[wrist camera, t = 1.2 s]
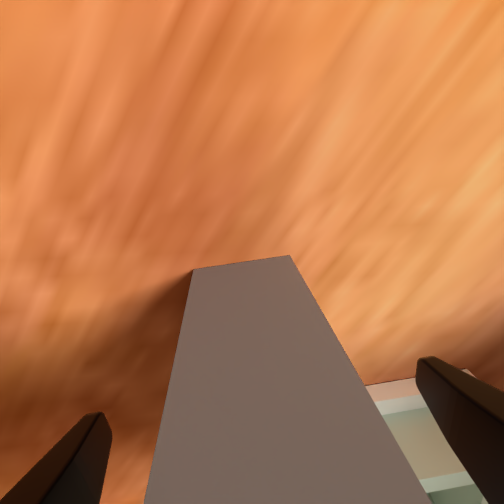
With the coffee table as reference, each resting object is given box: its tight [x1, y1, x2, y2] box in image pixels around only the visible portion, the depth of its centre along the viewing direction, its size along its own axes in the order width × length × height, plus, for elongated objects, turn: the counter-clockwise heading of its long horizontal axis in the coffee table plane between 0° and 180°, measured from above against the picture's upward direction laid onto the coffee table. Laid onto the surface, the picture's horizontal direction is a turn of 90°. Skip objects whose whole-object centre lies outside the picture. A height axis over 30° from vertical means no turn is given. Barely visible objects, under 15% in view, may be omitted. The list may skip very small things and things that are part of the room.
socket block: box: [365, 369, 488, 504], centre depth 15 cm, size 10×10×4 cm
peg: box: [144, 255, 432, 504], centre depth 8 cm, size 4×4×10 cm
